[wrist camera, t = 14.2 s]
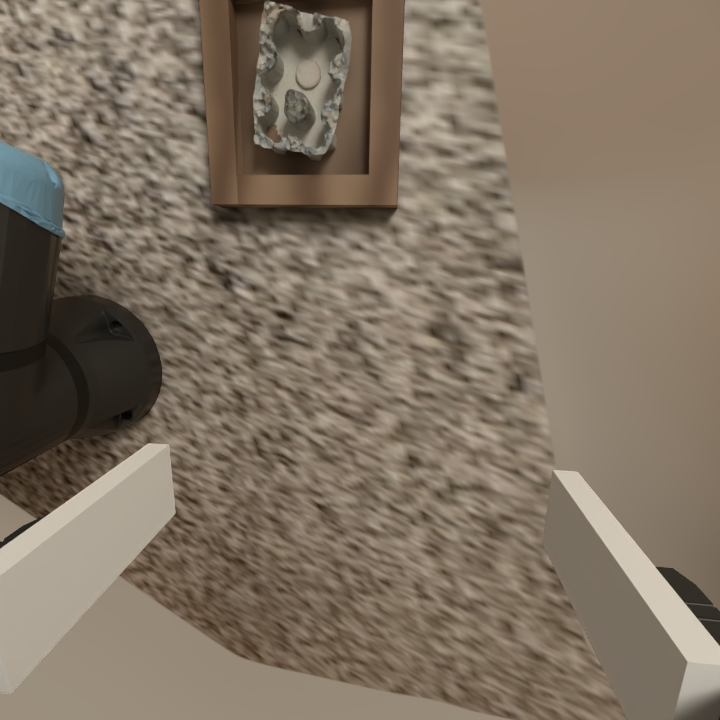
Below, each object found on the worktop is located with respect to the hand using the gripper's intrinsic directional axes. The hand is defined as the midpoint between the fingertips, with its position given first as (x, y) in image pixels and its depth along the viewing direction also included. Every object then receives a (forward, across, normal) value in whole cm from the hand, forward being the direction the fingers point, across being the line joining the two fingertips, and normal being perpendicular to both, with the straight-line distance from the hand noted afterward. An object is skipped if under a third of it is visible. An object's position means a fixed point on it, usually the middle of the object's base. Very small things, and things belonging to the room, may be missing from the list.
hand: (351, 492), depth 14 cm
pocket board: (+29, -8, +22) cm, 37 cm away
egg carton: (+28, -8, +22) cm, 36 cm away
